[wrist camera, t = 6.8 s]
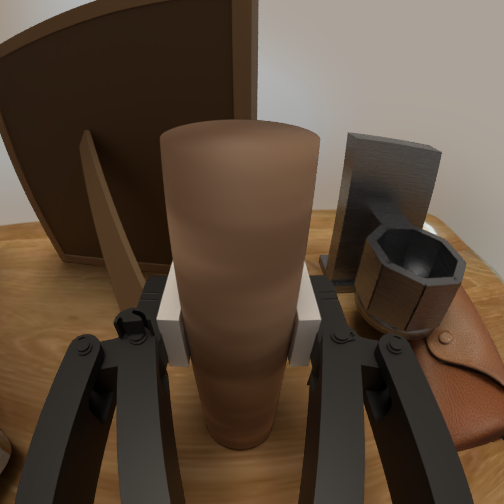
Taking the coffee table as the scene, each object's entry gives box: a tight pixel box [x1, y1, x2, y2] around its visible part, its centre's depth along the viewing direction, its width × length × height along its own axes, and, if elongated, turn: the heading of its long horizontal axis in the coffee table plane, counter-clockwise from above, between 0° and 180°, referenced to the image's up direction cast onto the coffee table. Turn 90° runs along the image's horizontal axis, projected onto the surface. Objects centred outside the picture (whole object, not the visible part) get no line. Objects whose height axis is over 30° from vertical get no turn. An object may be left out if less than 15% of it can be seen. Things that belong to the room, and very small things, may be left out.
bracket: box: [319, 133, 466, 340], centre depth 22 cm, size 14×8×14 cm, turn 2°
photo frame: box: [0, 0, 258, 363], centre depth 19 cm, size 15×22×25 cm
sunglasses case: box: [407, 285, 504, 452], centre depth 19 cm, size 18×7×7 cm, turn 176°
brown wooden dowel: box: [160, 120, 320, 449], centre depth 12 cm, size 4×4×16 cm
